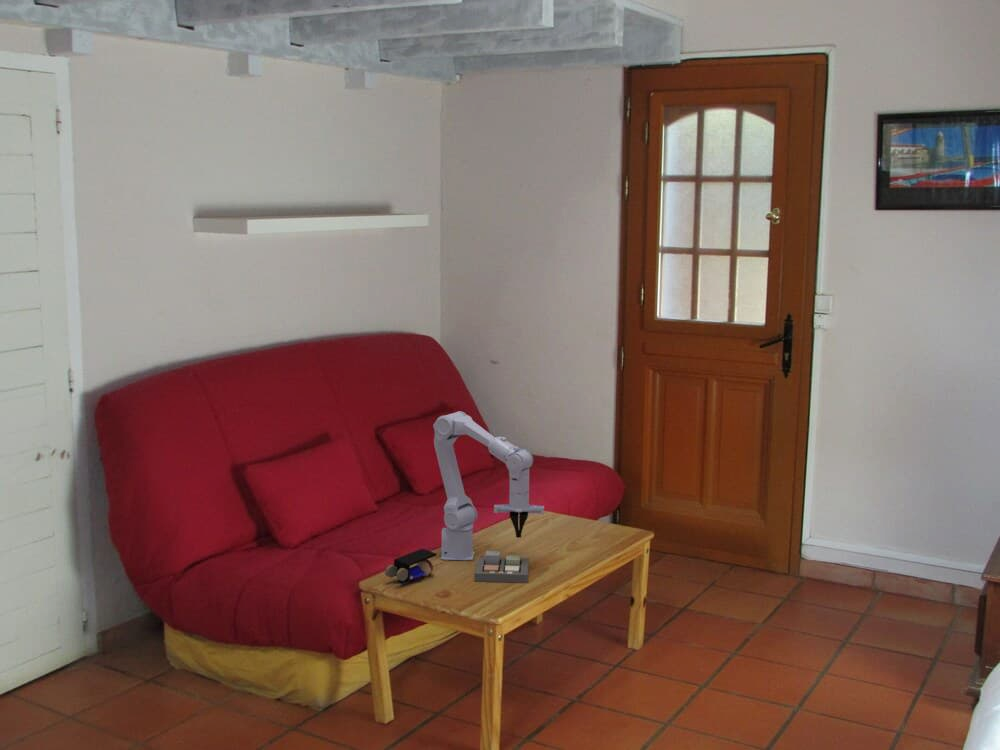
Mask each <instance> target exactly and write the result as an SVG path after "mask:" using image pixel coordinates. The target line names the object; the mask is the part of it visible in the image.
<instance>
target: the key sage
mask: <svg viewBox="0 0 1000 750" xmlns="http://www.w3.org/2000/svg"><path fill="white" fill-rule="evenodd" d="M505 558H506V565H516V566H520V558H521V555H517V554H516V555H514V554H513V555H512V554H509V555H508V554H507V555H506V556H505Z"/></svg>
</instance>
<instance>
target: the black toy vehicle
mask: <svg viewBox="0 0 1000 750" xmlns="http://www.w3.org/2000/svg"><path fill="white" fill-rule="evenodd" d="M436 556H437V553H436V552H433V551H430V550H428V549H425V548H419V549H417V550H414V551H412V552H410V553H406V554H404V555H401V556H399V557H396V558H394V560H393V564H389V565H387V567H386V568H385V570H384V571H385V572H384V574H385V576H386V577H388V578H390V579H391V578H395V577H396V580H394V582H393V584H398V583H399V582H403V583H401V584H400V586H404V585H406V584H408V583H409V582H410V581H411V580H413V579H418V578H421V577H428V576H429V575H430V574H431V573H432V572H433V570H434V565H433V563H432V562H431V561H430V560H429V559H431V558H434V557H436Z"/></svg>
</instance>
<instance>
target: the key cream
mask: <svg viewBox="0 0 1000 750" xmlns="http://www.w3.org/2000/svg"><path fill="white" fill-rule="evenodd" d="M505 572H519V566H505Z"/></svg>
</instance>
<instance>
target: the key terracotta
mask: <svg viewBox="0 0 1000 750" xmlns="http://www.w3.org/2000/svg"><path fill="white" fill-rule="evenodd" d="M484 571H487V572H490V571H495V572H499V565H485V567H484Z"/></svg>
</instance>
